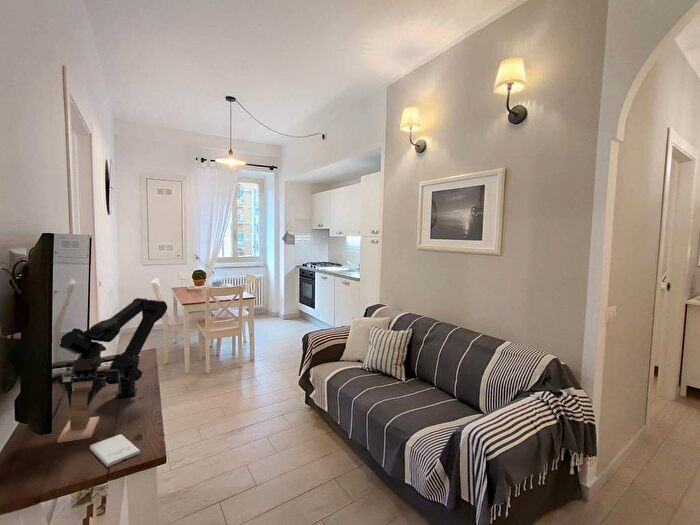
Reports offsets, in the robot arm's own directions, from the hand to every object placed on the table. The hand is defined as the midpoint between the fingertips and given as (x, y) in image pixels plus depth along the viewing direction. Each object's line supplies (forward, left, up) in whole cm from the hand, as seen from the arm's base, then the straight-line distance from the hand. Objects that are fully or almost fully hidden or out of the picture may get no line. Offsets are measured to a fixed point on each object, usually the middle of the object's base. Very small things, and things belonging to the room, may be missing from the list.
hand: (79, 405), depth 105 cm
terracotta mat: (-1, 0, -8) cm, 8 cm away
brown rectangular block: (-1, 0, -7) cm, 7 cm away
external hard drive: (+14, +11, -9) cm, 21 cm away
